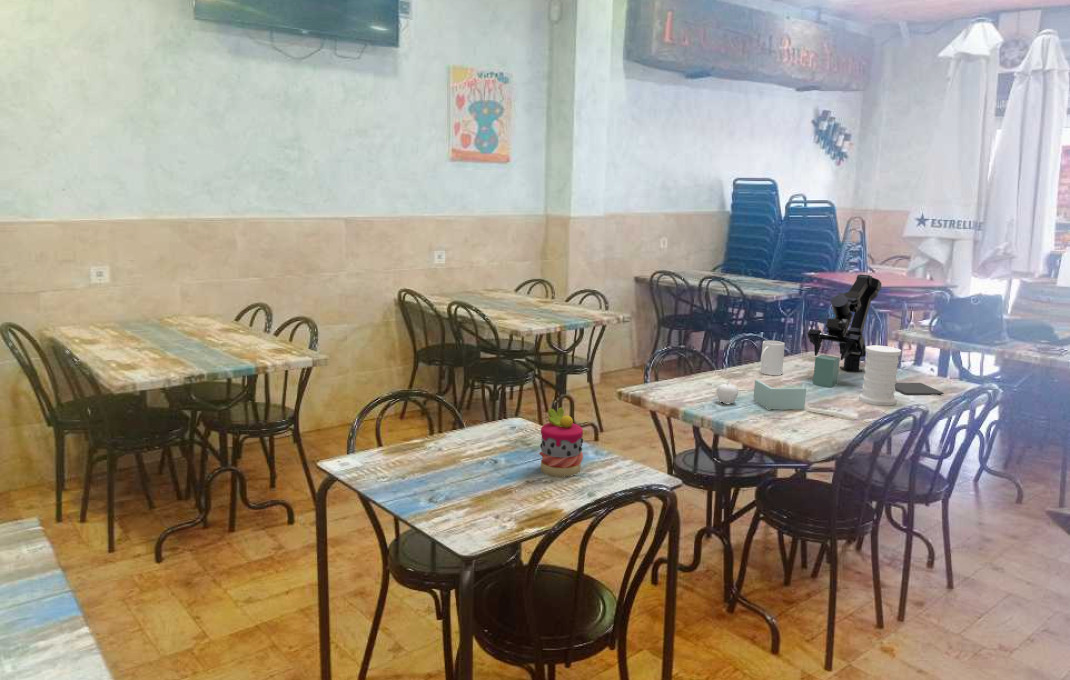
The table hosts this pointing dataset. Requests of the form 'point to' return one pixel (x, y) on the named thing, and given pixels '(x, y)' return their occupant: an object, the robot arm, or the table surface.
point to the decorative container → (880, 375)
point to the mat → (915, 389)
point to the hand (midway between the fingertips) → (828, 357)
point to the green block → (826, 370)
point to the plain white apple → (727, 392)
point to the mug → (772, 357)
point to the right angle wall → (779, 396)
